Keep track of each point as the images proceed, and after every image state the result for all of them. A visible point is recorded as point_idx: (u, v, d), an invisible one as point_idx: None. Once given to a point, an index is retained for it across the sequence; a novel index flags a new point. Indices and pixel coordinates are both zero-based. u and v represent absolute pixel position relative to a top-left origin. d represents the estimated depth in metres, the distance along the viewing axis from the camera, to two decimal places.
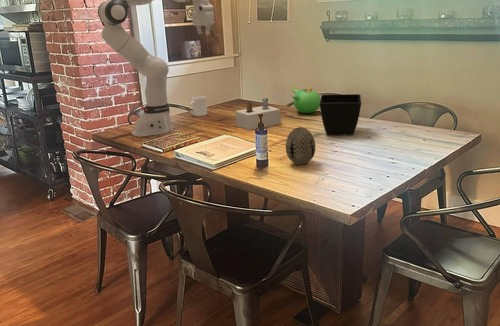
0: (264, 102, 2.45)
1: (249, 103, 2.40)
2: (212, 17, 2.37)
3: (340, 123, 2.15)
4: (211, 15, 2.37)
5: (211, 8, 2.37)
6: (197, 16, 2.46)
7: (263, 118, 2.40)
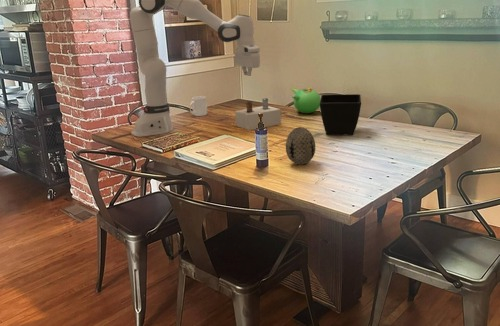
0: (264, 102, 2.45)
1: (249, 103, 2.40)
2: (258, 59, 2.26)
3: (340, 123, 2.15)
4: (257, 57, 2.26)
5: (257, 50, 2.26)
6: (240, 56, 2.35)
7: (263, 118, 2.40)
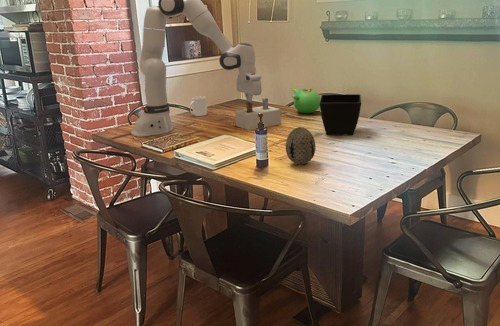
0: (264, 102, 2.45)
1: (249, 103, 2.40)
2: (260, 87, 2.31)
3: (340, 123, 2.15)
4: (259, 85, 2.30)
5: (259, 78, 2.30)
6: (242, 83, 2.40)
7: (263, 118, 2.40)
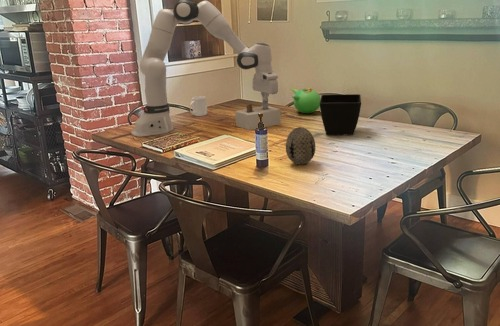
0: (264, 104, 2.45)
1: (249, 107, 2.40)
2: (276, 86, 2.35)
3: (340, 123, 2.15)
4: (275, 84, 2.35)
5: (275, 77, 2.35)
6: (258, 82, 2.45)
7: (263, 118, 2.40)
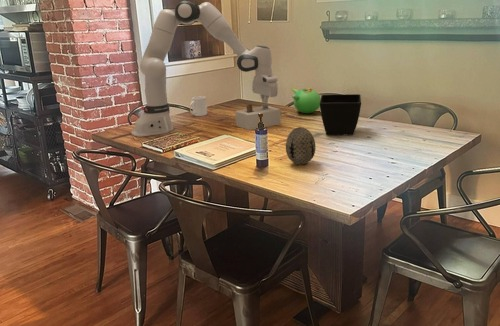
0: (264, 109, 2.46)
1: (249, 107, 2.40)
2: (276, 89, 2.36)
3: (340, 123, 2.15)
4: (275, 87, 2.35)
5: (275, 80, 2.35)
6: (258, 85, 2.45)
7: (263, 118, 2.40)
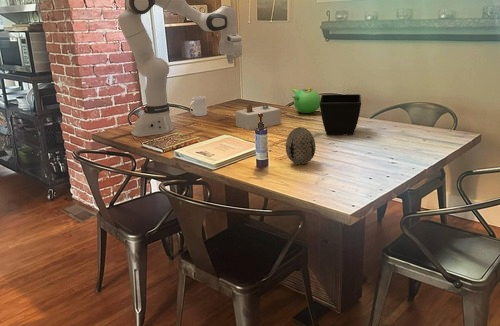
0: (264, 109, 2.46)
1: (249, 107, 2.40)
2: (240, 48, 2.40)
3: (340, 123, 2.15)
4: (239, 46, 2.40)
5: (239, 39, 2.40)
6: (224, 45, 2.50)
7: (263, 118, 2.40)
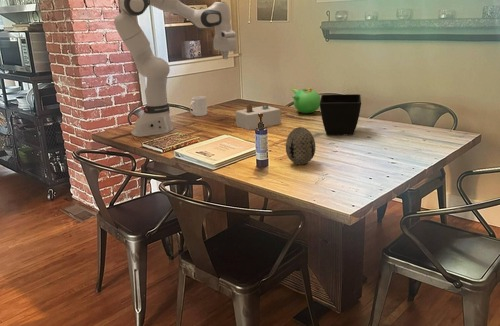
0: (264, 109, 2.46)
1: (249, 107, 2.40)
2: (234, 43, 2.42)
3: (340, 123, 2.15)
4: (233, 41, 2.41)
5: (233, 34, 2.41)
6: (218, 41, 2.51)
7: (263, 118, 2.40)
